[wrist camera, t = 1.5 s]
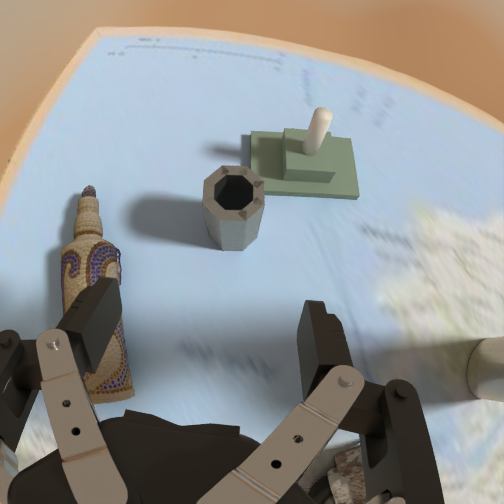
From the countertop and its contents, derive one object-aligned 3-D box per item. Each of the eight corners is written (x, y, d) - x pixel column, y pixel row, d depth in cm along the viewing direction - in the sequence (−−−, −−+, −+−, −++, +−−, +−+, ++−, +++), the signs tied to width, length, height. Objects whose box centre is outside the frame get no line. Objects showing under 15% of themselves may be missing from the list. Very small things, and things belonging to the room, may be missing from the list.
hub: (256, 206, 40) (264, 166, 30) (256, 251, 39) (264, 221, 29) (210, 205, 40) (204, 165, 30) (208, 250, 38) (201, 220, 29)
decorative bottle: (145, 396, 34) (127, 407, 27) (88, 398, 33) (63, 407, 26) (125, 190, 40) (109, 165, 33) (75, 200, 39) (53, 179, 33)
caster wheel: (314, 511, 32) (296, 461, 33) (395, 486, 31) (385, 433, 32) (317, 542, 26) (297, 493, 26) (408, 514, 25) (401, 460, 26)
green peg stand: (348, 143, 44) (375, 93, 33) (356, 199, 41) (391, 156, 30) (250, 136, 43) (256, 79, 32) (250, 194, 40) (256, 144, 30)
